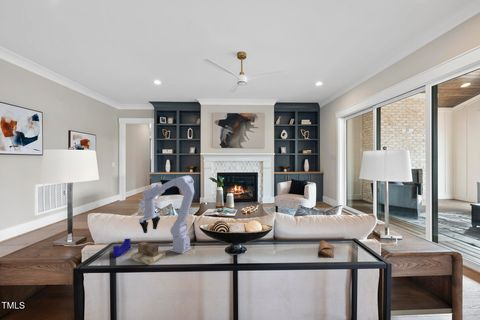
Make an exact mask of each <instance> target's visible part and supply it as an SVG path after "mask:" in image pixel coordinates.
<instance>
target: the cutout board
mask: <svg viewBox="0 0 480 320" xmlns="http://www.w3.org/2000/svg"><path fill="white" fill-rule="evenodd" d="M158 253H159V255H157V256H155V257H153V256H149V255H146V254H142V253H138V251H136V252H134V253H132V254H131V255H130V260H131V261H135V262H138V263H141V264H146V265H148V266H151V265H153V264H155V263H157V262H158V261H160V260H162V259H164V258H166V257H167V256H166V251H162V250H159V249H158Z"/></svg>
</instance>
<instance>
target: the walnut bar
mask: <svg viewBox="0 0 480 320" xmlns="http://www.w3.org/2000/svg"><path fill="white" fill-rule="evenodd" d="M137 250H138V251H137V252H138V253H142V254H146V255H149V256H153V257H155V256H157V255H159V253H158V250H159V245H158V244H153V243H149V242H145V241H141V242H139V243H137Z"/></svg>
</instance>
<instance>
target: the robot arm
mask: <svg viewBox="0 0 480 320" xmlns="http://www.w3.org/2000/svg"><path fill="white" fill-rule="evenodd" d="M194 183H195V181H194V179H193V177H192V176H191V175H184V176H178V177H176V178H172V179H170V180H169V181H167V182H164V183H163V184H161V183H155V185H154V186H153V187H149V189H144V191H143V192H142V198H143V199H144V215H143V216H142V217H141V218H139V220H138V221H139V225H140V226H141V229H142V230H143V231H142V232H143V234H147V233H148V226H149V220H151V221H152V230H157V228H158V224H159V223H160V222H159V221H160V220H161V213H159V212H157V213H156V211H155V210H156V209H155V208H156V207H155V204H156V202H155V201H156V197H157V196H159V195H162V194H163V193H165V192H166V190H168V189H170V188H171V187H177V188H178V189H179V190H180V191H181V192H182V193H183V197H182V201H181V205H180V207H179V211H178V215H177V218H176V219H175V221H174V223H173V225H172V226H171V228H170V230H169V231H170V234H171V236H172V247H173V248H170V249H169V251H170V252H174V253H178V254H181V255H182V254H185V253H187V252H188V251H189V250H191V249H192V248H191V238H190V236H188V235H187V233H186V232H187V230H188V220H187V219H188V215H189V212H190V208H191V206H192V203H193V199H194V195H195V187H194Z"/></svg>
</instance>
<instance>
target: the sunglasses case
mask: <svg viewBox="0 0 480 320" xmlns="http://www.w3.org/2000/svg"><path fill="white" fill-rule="evenodd" d="M318 246H319V247H318V256H319V257H322V258H328V259H334V258H335V257H334V256H335V255H334V248H335V245H333V244H331V243H328V242H326V241H325V240H324V239H321V240H320V241H319V245H318Z"/></svg>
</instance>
